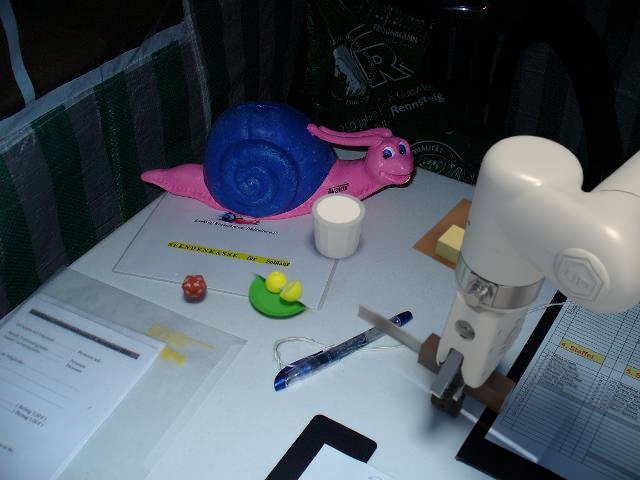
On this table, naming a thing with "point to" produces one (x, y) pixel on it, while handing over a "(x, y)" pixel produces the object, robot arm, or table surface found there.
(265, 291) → the green and yellow piece
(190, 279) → the die
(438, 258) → the cutting board
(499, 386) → the knife
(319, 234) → the white ramekin
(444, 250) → the butter
